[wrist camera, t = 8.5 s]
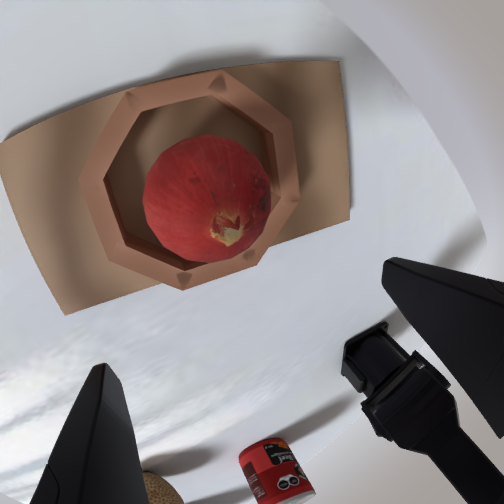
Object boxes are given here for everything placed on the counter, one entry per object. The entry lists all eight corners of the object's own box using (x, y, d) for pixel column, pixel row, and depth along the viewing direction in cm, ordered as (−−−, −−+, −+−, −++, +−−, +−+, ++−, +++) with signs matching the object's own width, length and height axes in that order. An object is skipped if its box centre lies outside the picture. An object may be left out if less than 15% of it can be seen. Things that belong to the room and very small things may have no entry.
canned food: (292, 441, 40) (323, 492, 31) (252, 463, 40) (278, 514, 31) (271, 432, 36) (305, 494, 27) (227, 457, 36) (254, 517, 27)
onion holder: (330, 62, 17) (358, 58, 14) (342, 215, 23) (366, 229, 20) (-1, 145, 11) (-23, 153, 9) (66, 306, 18) (61, 334, 15)
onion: (235, 123, 16) (312, 139, 9) (243, 214, 19) (310, 281, 12) (133, 141, 14) (130, 168, 8) (152, 236, 17) (170, 323, 10)
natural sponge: (150, 486, 34) (164, 536, 26) (104, 476, 29) (115, 533, 21) (185, 469, 34) (205, 524, 26) (137, 458, 29) (153, 524, 21)
